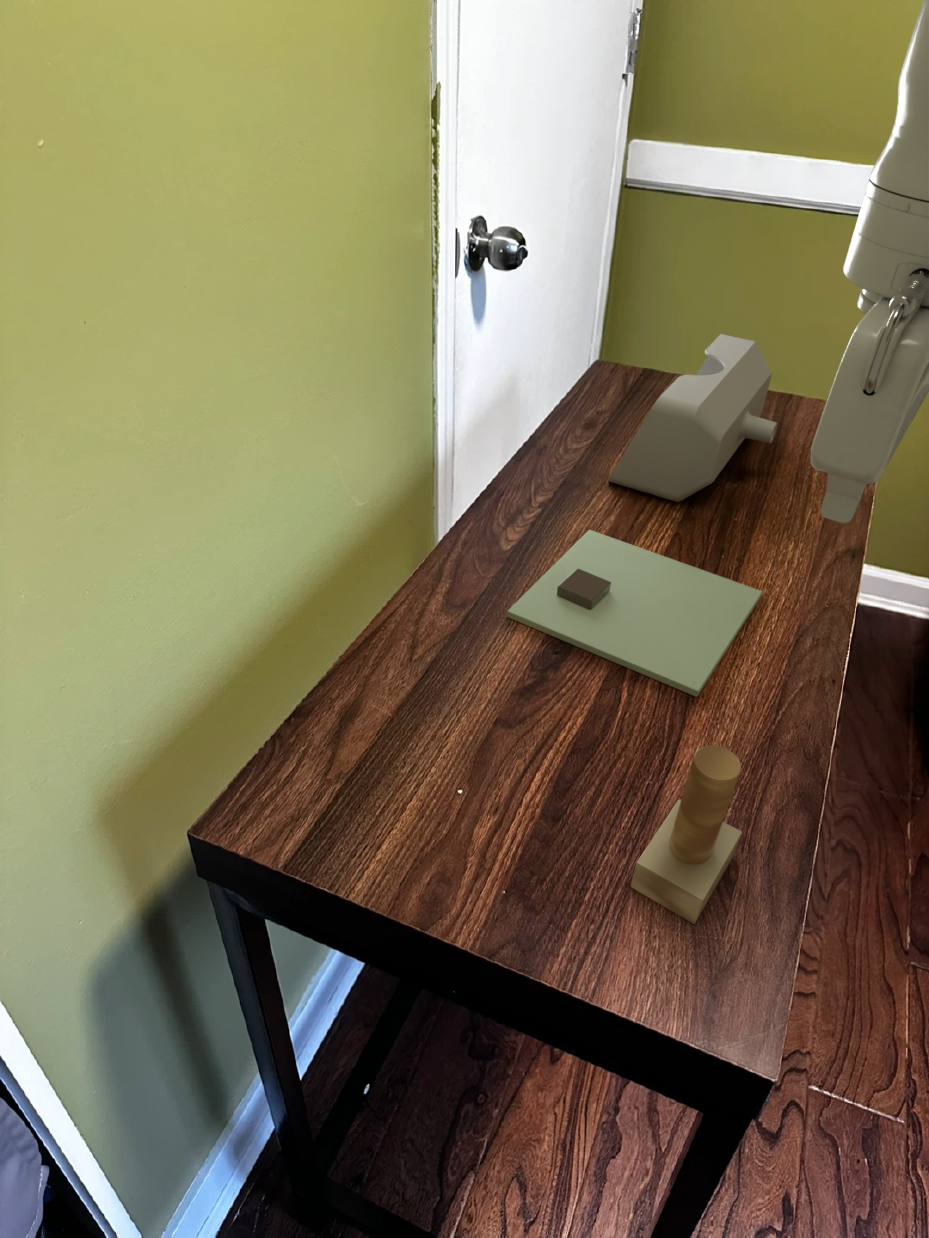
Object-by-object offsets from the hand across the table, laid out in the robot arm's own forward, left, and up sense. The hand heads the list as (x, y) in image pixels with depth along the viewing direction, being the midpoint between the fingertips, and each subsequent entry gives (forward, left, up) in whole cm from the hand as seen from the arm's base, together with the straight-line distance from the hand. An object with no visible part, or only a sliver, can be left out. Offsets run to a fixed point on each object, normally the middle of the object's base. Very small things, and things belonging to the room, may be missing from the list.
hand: (856, 482), depth 53 cm
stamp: (+1, +12, -27) cm, 30 cm away
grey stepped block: (+23, -48, -27) cm, 59 cm away
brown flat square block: (+22, -12, -26) cm, 37 cm away
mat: (+17, -15, -27) cm, 35 cm away
